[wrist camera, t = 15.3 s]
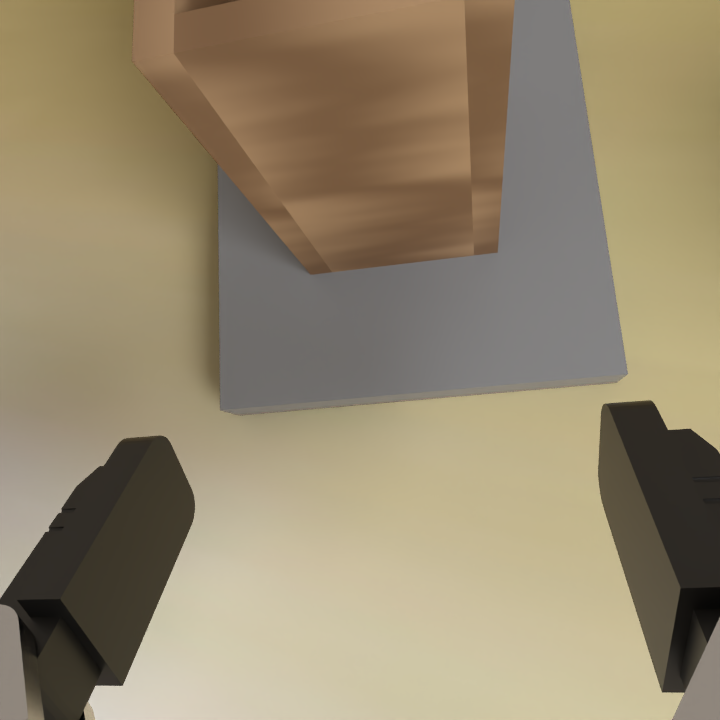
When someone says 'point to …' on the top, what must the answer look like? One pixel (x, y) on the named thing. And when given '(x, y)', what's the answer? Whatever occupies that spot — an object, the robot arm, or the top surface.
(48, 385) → the top surface
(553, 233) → the post base
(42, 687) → the robot arm
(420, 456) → the top surface
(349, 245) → the walnut sleeve
